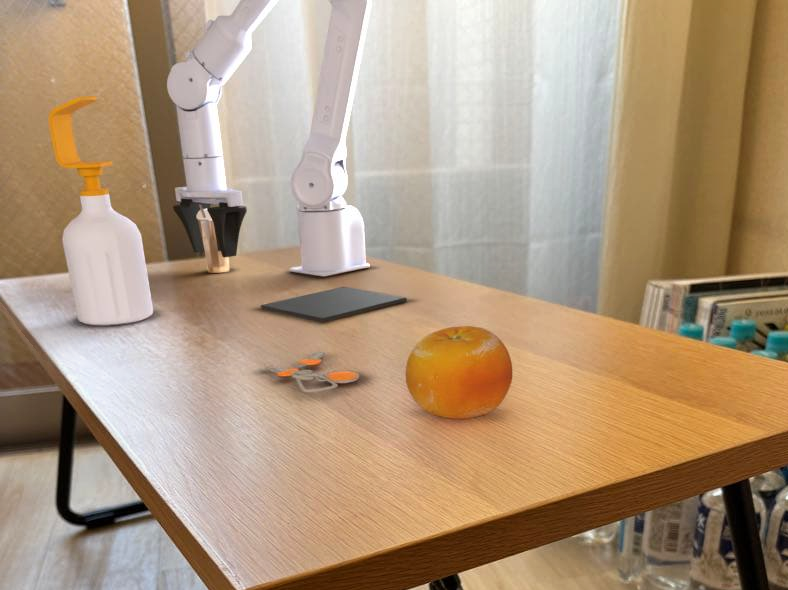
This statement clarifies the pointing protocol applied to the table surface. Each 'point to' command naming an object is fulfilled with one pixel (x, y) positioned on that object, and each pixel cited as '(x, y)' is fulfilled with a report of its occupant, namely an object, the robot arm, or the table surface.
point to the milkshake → (211, 243)
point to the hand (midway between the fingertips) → (215, 254)
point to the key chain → (315, 374)
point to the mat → (333, 303)
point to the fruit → (459, 372)
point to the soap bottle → (99, 240)
